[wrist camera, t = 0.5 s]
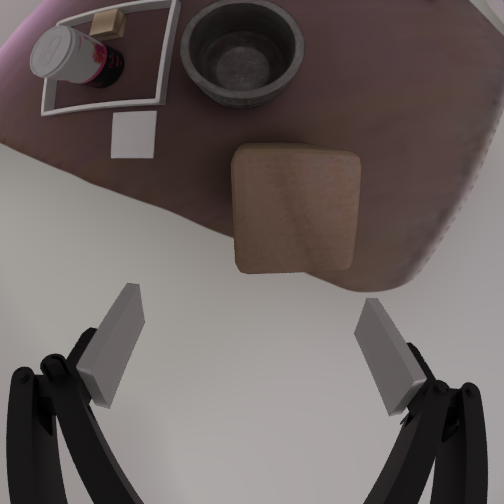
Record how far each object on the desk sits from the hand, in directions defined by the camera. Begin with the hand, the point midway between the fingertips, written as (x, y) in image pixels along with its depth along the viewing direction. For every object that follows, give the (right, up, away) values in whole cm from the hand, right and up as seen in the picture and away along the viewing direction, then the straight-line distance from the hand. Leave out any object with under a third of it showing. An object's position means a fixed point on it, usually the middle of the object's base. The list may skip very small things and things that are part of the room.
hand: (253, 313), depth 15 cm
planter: (-1, +28, +17) cm, 33 cm away
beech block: (-21, +38, +12) cm, 45 cm away
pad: (-17, +20, +20) cm, 33 cm away
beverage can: (-22, +31, +15) cm, 41 cm away
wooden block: (+3, +14, +23) cm, 28 cm away
